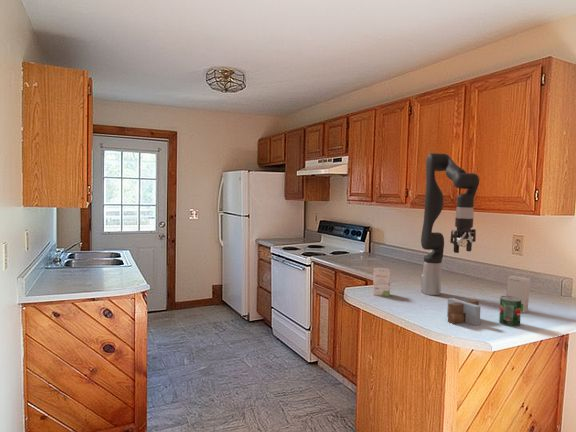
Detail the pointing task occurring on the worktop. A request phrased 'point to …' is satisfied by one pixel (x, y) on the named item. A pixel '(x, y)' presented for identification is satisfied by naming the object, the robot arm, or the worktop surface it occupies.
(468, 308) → the grey tall rectangular block
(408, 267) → the worktop surface
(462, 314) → the wooden u-shaped brace
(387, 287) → the ink box
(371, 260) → the worktop surface
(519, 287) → the skincare box
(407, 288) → the worktop surface
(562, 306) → the worktop surface
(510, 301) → the canned tomato
